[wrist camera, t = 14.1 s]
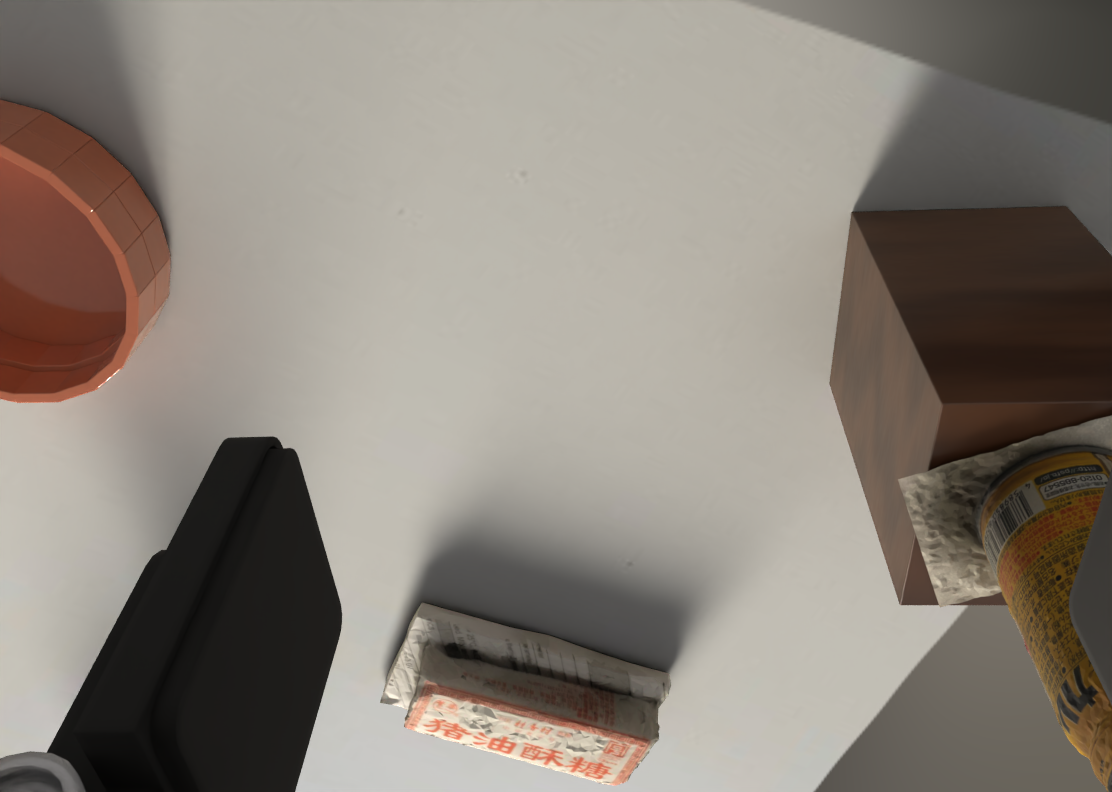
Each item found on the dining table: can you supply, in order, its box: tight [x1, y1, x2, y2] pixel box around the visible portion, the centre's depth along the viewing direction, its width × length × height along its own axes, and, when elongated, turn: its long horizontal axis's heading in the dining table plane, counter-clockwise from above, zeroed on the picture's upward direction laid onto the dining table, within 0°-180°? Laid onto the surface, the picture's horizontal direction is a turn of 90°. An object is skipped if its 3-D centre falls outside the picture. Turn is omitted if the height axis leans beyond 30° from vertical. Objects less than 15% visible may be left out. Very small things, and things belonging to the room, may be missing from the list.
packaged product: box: [380, 603, 671, 785], centre depth 66 cm, size 18×5×10 cm
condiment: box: [898, 415, 1112, 792], centre depth 32 cm, size 7×8×12 cm
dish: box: [0, 100, 171, 403], centre depth 48 cm, size 14×14×4 cm
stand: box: [830, 206, 1112, 605], centre depth 43 cm, size 10×10×16 cm
